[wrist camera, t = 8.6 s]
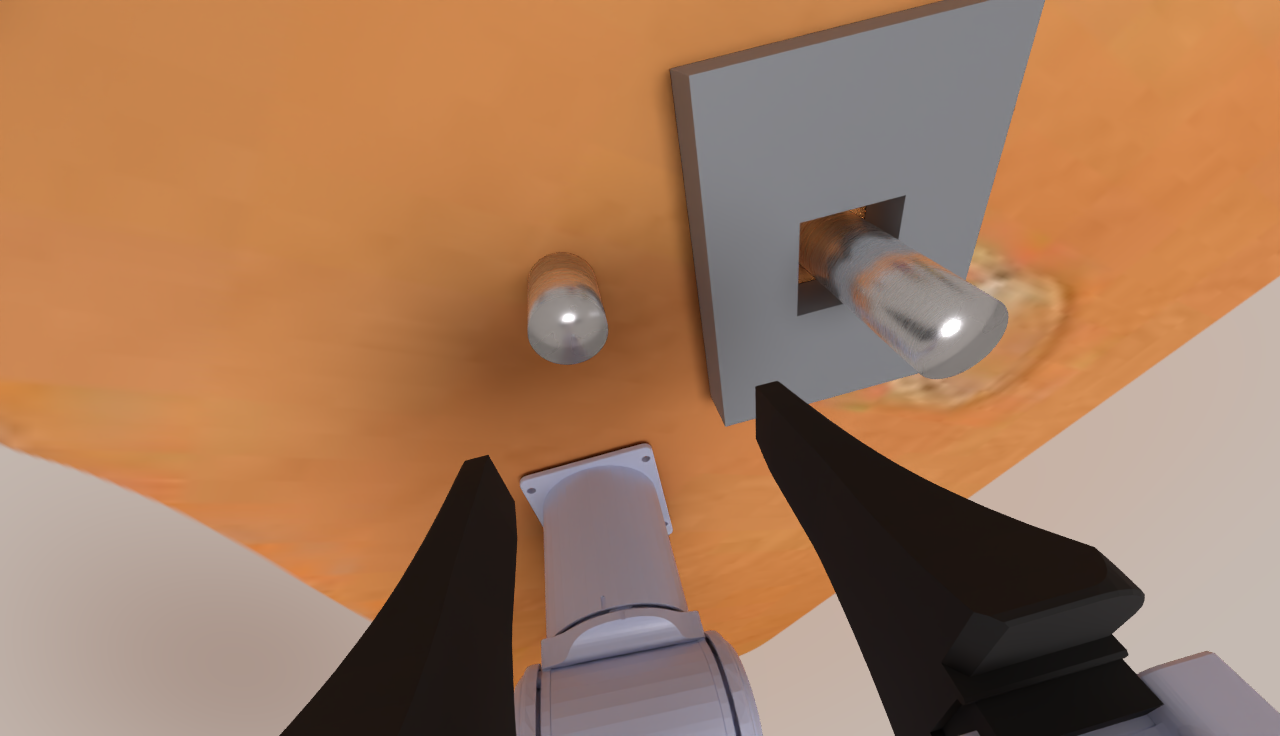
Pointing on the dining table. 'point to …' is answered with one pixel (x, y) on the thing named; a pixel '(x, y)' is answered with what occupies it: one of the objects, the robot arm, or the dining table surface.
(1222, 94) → the dining table surface
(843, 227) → the tall pin
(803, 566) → the dining table surface
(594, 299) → the short pin
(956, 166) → the hole board
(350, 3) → the dining table surface
